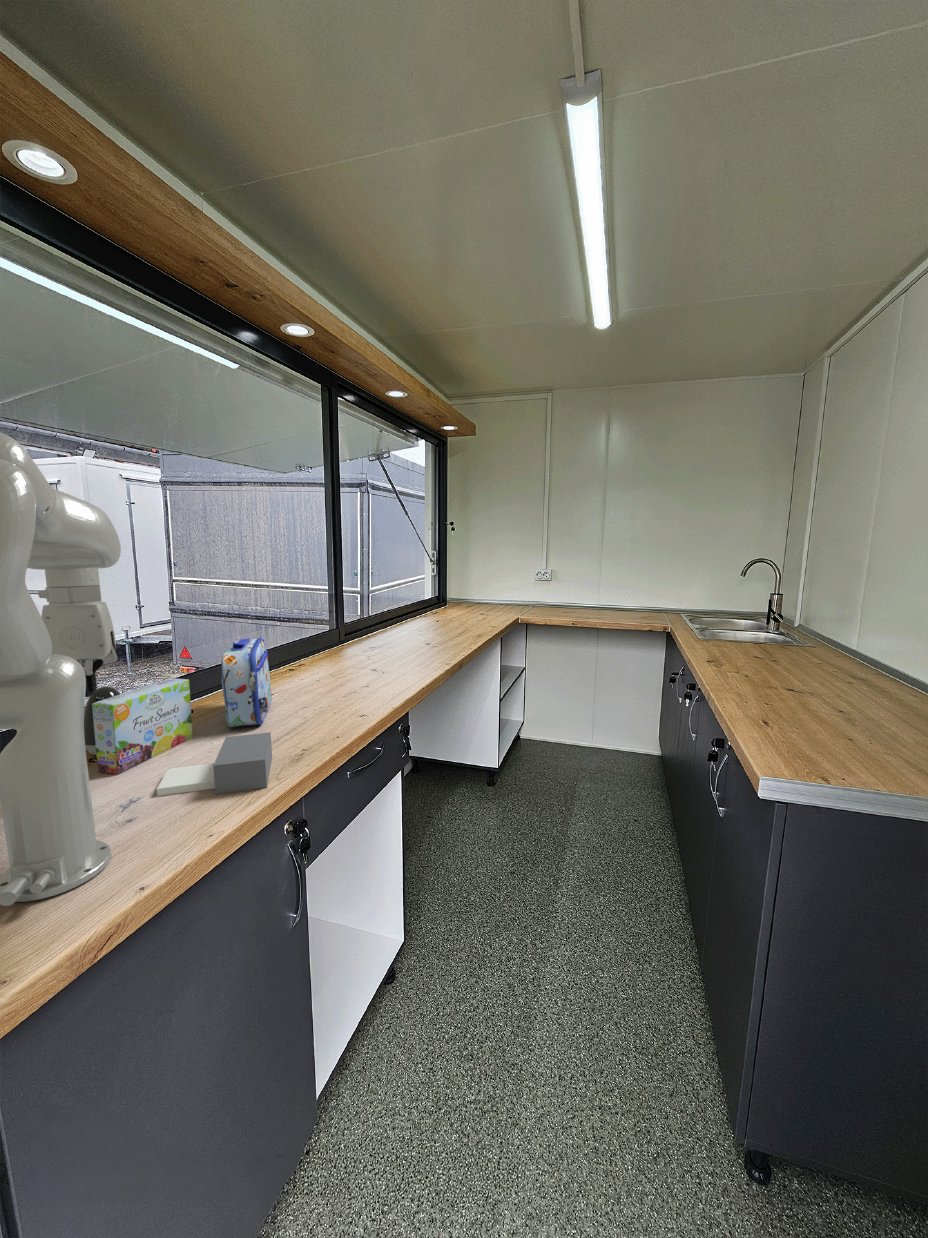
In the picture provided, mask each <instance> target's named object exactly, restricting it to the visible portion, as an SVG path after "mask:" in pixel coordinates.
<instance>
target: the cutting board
mask: <svg viewBox="0 0 928 1238" xmlns="http://www.w3.org/2000/svg"><path fill="white" fill-rule="evenodd" d="M214 763H215V762H212V763H204V764H197V765H188V766H179V767H171V768H168V769H167V771H166V773H165V774H164V776H163V777H162V779H161V781H160V782H159V784H158V786H157V788H156V794H157V797H162V796H163V797H164V796H167V795H168V796H169V795H176V794H182V793H189V792H191V793H192V792H198V791H204V790H205V791H207V790H211V789H215V782H214V769H213V765H214Z"/></svg>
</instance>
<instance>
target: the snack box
mask: <svg viewBox="0 0 928 1238" xmlns="http://www.w3.org/2000/svg"><path fill="white" fill-rule="evenodd" d="M92 710H93V721H94V732H95V743H96V754H97V755H96V765H97V772H98V773H104V774H112V775H120V774H121V773H124V772H126V771H128V770H129V769H131V768H134V767H136V766H137V765H139V764H142V763H144V762H146V761H149V760H150V759H153V758H154V757H156V756H158V755H160V754H162V753H165V752H166V751H168V750H170V749H173V748H175V747H177V746H179V745H181V744H183V743H185V742H187V741H189V740H191V739H193V738H194V737H193V734H194V733H193V722H192V721H193V720H192V719H193V718H192V717H193V716H192V704H191V689H190V679H186V678H172V677H171V678H168V679H164V680H161V681H159V682H155V683H152V684H149V685H145V686H143V687H139V688H136V689H134V690H130V691H127V692H124V693H120V695H117V696H114V697H111V698H107V699H104V700H101V701H98V702H95V703H93V704H92Z"/></svg>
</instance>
